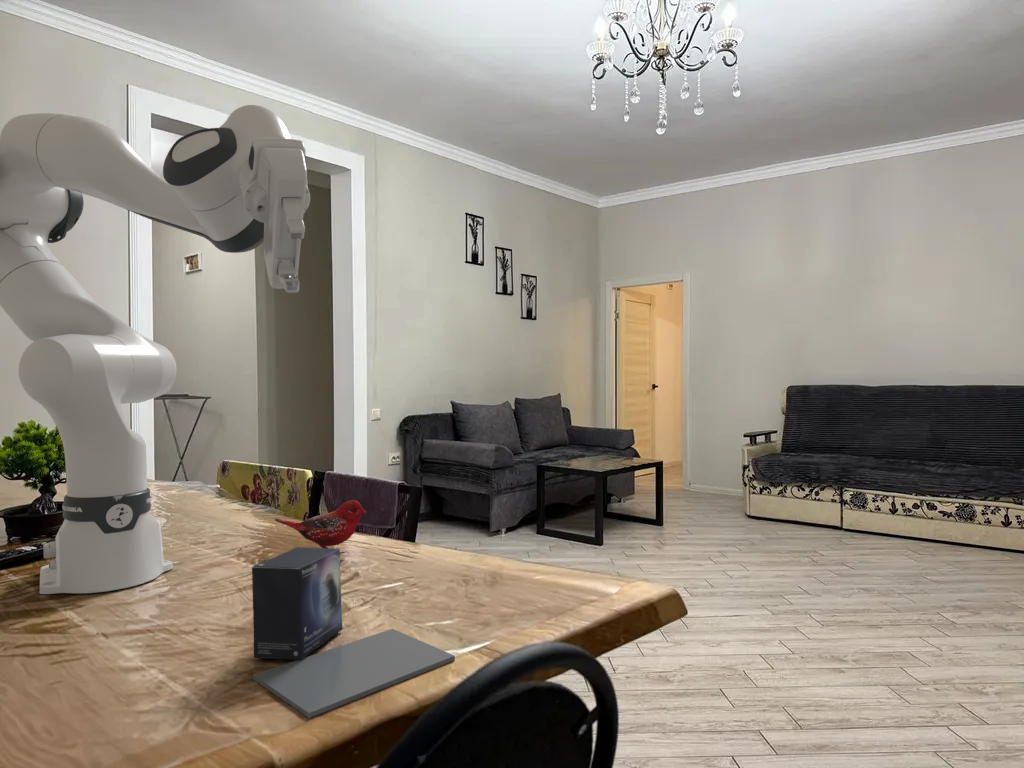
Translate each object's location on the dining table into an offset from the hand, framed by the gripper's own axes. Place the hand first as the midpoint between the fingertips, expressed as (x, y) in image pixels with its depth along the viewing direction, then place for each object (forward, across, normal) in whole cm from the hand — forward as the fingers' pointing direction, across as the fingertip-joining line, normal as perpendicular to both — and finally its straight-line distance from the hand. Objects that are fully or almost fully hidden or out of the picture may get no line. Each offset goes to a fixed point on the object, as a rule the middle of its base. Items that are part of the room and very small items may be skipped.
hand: (295, 262), depth 88 cm
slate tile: (+47, -16, -2) cm, 50 cm away
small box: (+41, -23, -6) cm, 47 cm away
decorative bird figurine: (+16, -57, +5) cm, 59 cm away
